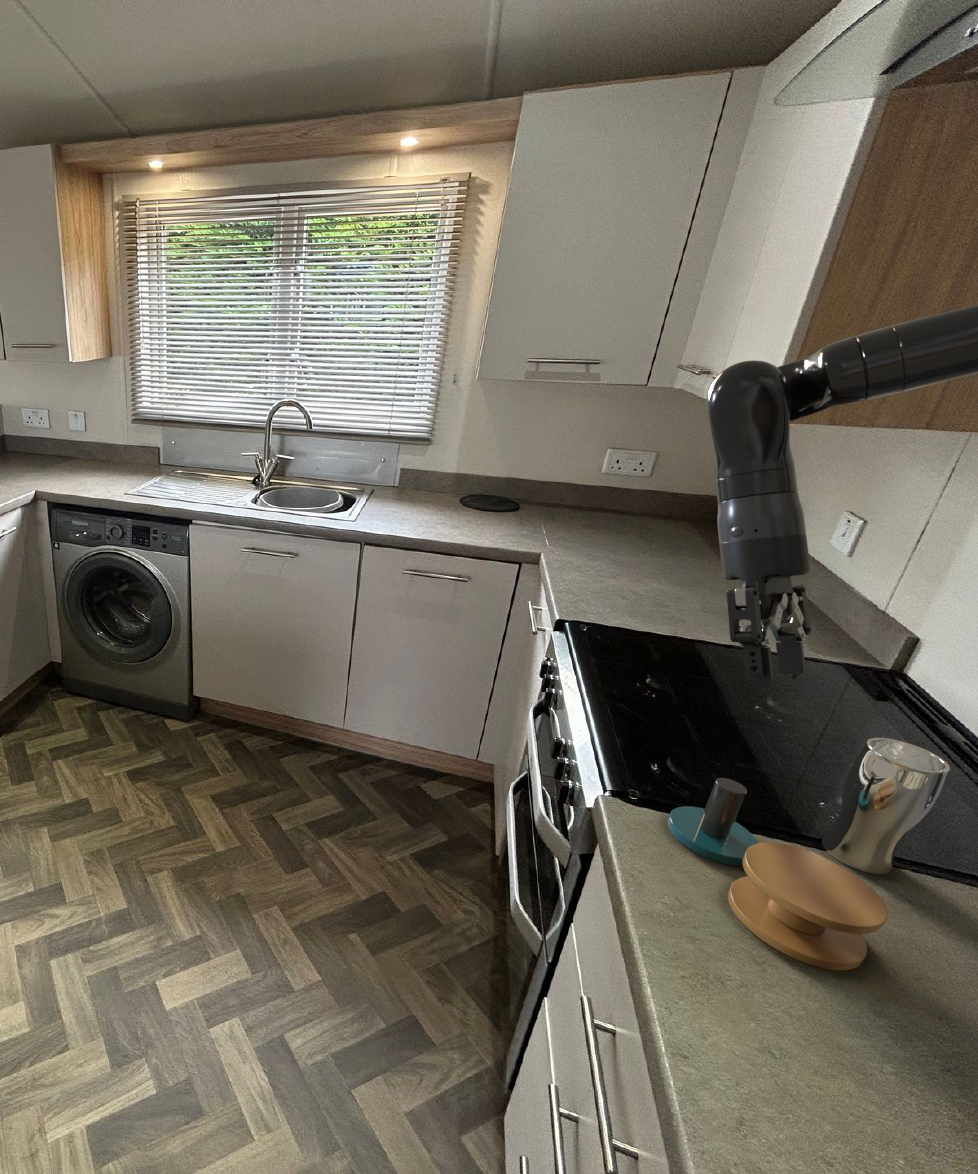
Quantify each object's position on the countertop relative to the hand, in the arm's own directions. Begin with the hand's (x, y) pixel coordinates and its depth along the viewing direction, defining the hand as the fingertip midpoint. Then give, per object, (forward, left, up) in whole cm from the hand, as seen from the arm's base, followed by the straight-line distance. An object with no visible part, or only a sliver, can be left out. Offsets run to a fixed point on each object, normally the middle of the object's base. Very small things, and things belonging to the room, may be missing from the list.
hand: (776, 677), depth 72 cm
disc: (+1, +1, -23) cm, 23 cm away
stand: (0, +13, -23) cm, 26 cm away
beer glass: (-15, +1, -23) cm, 28 cm away
